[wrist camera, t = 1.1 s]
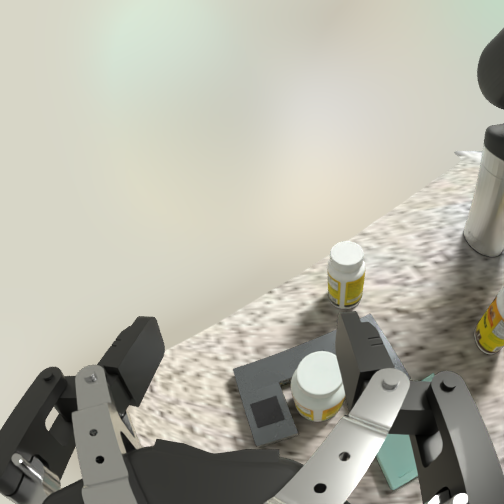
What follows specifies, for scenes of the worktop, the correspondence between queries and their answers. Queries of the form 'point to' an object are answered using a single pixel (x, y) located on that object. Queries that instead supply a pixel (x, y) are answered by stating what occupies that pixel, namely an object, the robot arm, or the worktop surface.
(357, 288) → the supplement bottle
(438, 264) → the worktop surface
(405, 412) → the robot arm
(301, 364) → the supplement bottle
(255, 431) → the grey notched plate
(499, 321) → the supplement bottle
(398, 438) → the tray
